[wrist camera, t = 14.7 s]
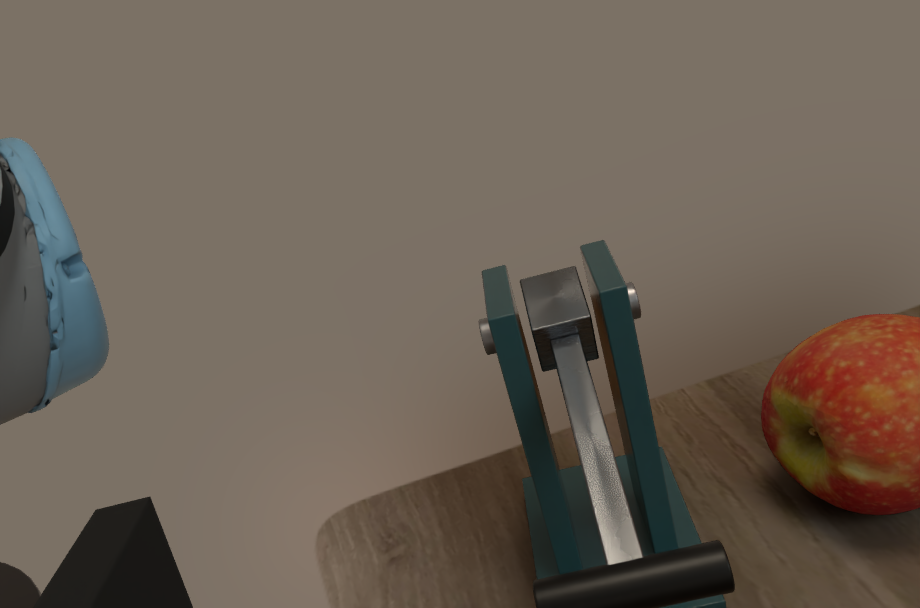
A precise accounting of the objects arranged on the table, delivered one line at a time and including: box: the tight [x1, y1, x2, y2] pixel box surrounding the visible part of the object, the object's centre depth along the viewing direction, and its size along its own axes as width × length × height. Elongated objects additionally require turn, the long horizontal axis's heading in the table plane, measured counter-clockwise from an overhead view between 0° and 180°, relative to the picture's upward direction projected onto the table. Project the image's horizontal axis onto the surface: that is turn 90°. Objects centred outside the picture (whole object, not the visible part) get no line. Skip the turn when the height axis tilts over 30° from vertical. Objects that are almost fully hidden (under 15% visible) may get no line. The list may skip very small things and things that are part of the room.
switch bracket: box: [479, 240, 726, 608], centre depth 34 cm, size 10×7×14 cm
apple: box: [761, 314, 920, 515], centre depth 35 cm, size 8×8×8 cm
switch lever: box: [520, 266, 735, 608], centre depth 28 cm, size 13×6×2 cm, turn 1°
